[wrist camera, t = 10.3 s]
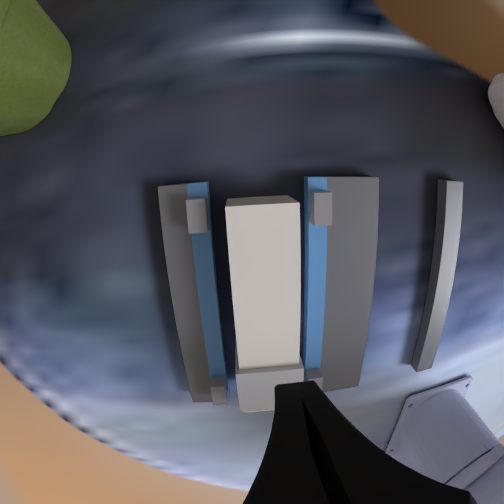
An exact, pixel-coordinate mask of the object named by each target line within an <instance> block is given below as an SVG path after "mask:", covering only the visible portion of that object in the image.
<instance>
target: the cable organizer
mask: <svg viewBox="0 0 504 504" xmlns="http://www.w3.org/2000/svg"><path fill="white" fill-rule="evenodd" d="M488 98H489V101H490V104H491V106H492V108H493V112H494V114H495V116H496V118H497V119H498V121H499V122H500V124H501V125H502V127H503V128H504V73H500V74H497V75H495V76H494V78H493V80H492V82H491V84H490V86H489V88H488Z"/></svg>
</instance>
